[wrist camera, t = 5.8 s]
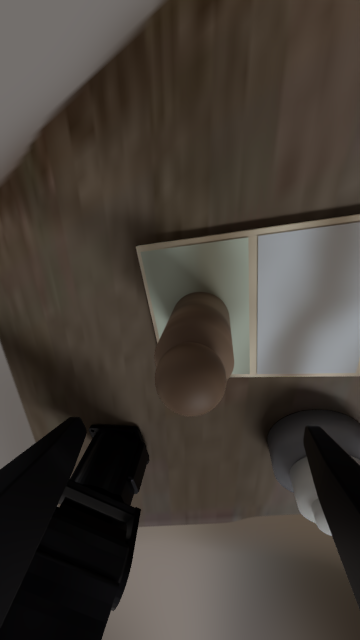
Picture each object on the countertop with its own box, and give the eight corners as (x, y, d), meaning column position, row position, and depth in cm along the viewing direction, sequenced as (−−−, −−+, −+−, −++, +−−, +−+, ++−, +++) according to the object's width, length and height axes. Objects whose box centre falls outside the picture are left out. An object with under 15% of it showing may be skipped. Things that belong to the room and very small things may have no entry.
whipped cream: (287, 491, 21) (298, 538, 18) (292, 450, 18) (306, 497, 15) (362, 499, 20) (388, 550, 17) (379, 455, 17) (414, 508, 14)
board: (166, 373, 21) (165, 378, 20) (138, 245, 16) (135, 246, 15) (477, 369, 16) (487, 376, 15) (582, 181, 11) (604, 179, 10)
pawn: (176, 344, 18) (147, 437, 11) (168, 294, 16) (124, 365, 9) (230, 342, 17) (240, 442, 10) (228, 289, 15) (237, 363, 8)
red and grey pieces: (266, 464, 25) (274, 505, 21) (268, 408, 21) (278, 447, 17) (414, 475, 22) (452, 524, 18) (449, 412, 18) (504, 460, 14)
